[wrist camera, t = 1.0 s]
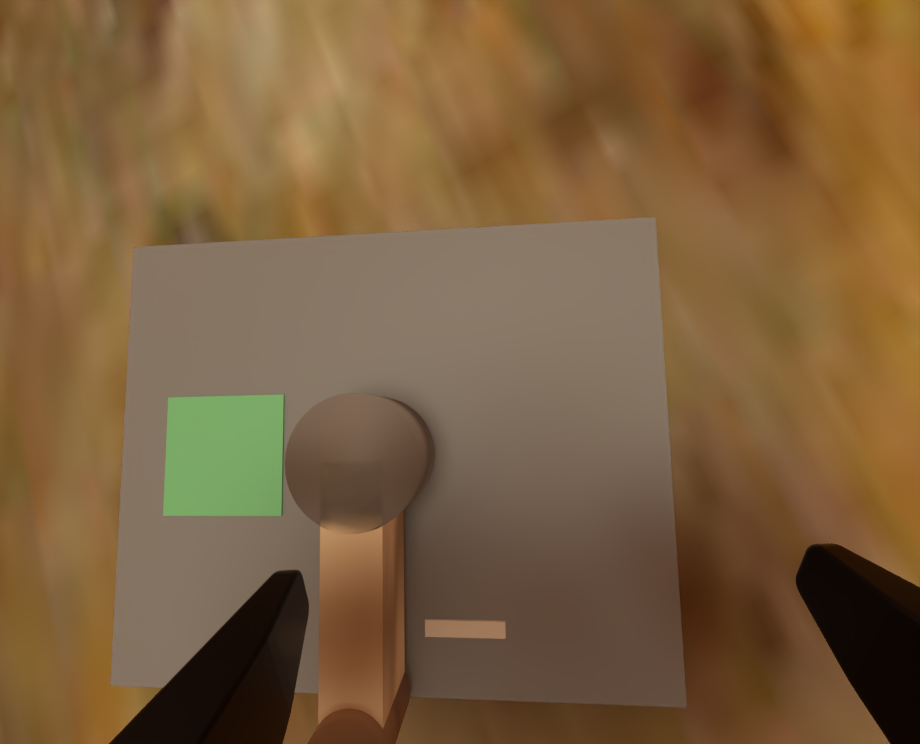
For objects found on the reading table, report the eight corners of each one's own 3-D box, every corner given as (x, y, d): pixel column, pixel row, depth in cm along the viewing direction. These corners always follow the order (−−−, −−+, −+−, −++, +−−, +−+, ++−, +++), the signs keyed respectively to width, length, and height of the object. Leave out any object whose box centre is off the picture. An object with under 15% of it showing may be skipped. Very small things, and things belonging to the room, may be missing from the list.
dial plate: (671, 682, 17) (688, 709, 16) (140, 664, 19) (108, 687, 18) (643, 232, 19) (656, 216, 17) (159, 259, 21) (131, 246, 19)
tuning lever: (322, 398, 18) (270, 393, 14) (433, 395, 17) (412, 389, 13) (319, 722, 16) (260, 820, 12) (438, 728, 16) (416, 831, 12)
